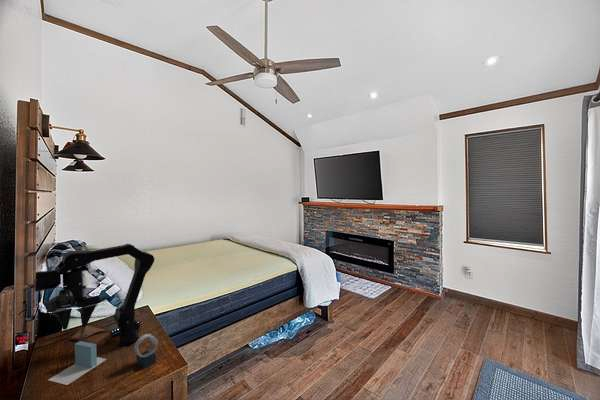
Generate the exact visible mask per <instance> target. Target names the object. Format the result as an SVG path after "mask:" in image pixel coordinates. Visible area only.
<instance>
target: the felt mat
mask: <svg viewBox="0 0 600 400" xmlns="http://www.w3.org/2000/svg"><path fill="white" fill-rule="evenodd" d="M106 360H107V358H104V357H99V356H97V365H96V366H94V367H93V368H88V367H84V366H80V365H75V363H74V364H72V365H71V366H69V367H67V368H66V369H63V370H62V371H60V372H59V373H57V374H55V375H54V376H52V377H50V378H49V379H48V381H49V382H54V383H57V384H61V385H65V386H68V385H69V384H71V383H73V382H74V381H76V380H78V379H79V378H80V377H82V376H83V375H85V374H86V373H88V372H89V371H91V370H92V369H94V368H96V367H97V366H99V365H100V364H102V363H104V362H105V361H106Z"/></svg>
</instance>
